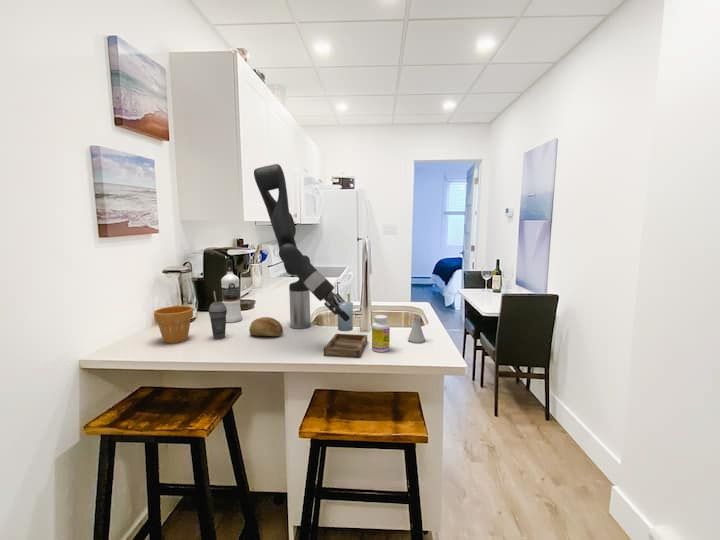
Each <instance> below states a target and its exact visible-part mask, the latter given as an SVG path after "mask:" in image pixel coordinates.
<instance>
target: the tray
mask: <svg viewBox="0 0 720 540" xmlns="http://www.w3.org/2000/svg"><path fill="white" fill-rule="evenodd" d="M366 343H368V335H367V334H351V333H335V334H334V336H333V337H331V339H330V340H329V342H327V344H325V346H324V347H323V356H324V357H335V358H352V359H353V358H354V359H359V358H360V357H361V355H362V353H363V351H364V349H365V347H366V345H367V344H366Z"/></svg>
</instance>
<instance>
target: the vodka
mask: <svg viewBox="0 0 720 540" xmlns="http://www.w3.org/2000/svg"><path fill="white" fill-rule="evenodd" d="M225 263H226V274H225V275H224V276H223V277H222V278H221V279H220V283H221V291H222V293H221V294H222V295H221V296H222V301H221V302H222V303H224V304H225V306H226V308H227V314H226V324H230V323H231V324H233V323H238V322H241V320H242V318H243V315H242V310H241V298H240V278H239V277H238V276H237V275H235V274H234V272H233V260H226V262H225Z"/></svg>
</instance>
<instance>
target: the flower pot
mask: <svg viewBox="0 0 720 540" xmlns="http://www.w3.org/2000/svg"><path fill="white" fill-rule="evenodd" d="M153 311H154V312H153V316H154V321H155V323H157V325H158V328H159V331H160V334H161V337H162V341H163V342H164V343H165V344H179V343H183V342H185V341H187V340H188V338H189V337H188V336H189V333H190V326H191V319H193V317H194V308H193V306H189V305H175V306H173V305H172V306H165V307H162V308H158V309H155V310H153ZM178 342H179V343H178Z"/></svg>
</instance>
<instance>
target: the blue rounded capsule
mask: <svg viewBox="0 0 720 540" xmlns="http://www.w3.org/2000/svg"><path fill="white" fill-rule="evenodd" d="M339 303H340V307H341V308H342V309H343V311H344V312H345V313H346V314H347V315H348V316H349V317H350V319H349V320H348V321H347V322H345V321H344V320H343V319H342V318H341V317H340V316H339V315H337V330H338V331H340V332H351V331H353V330H354V326H353V325H354V303H353V302H351V301H345V302H339Z"/></svg>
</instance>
